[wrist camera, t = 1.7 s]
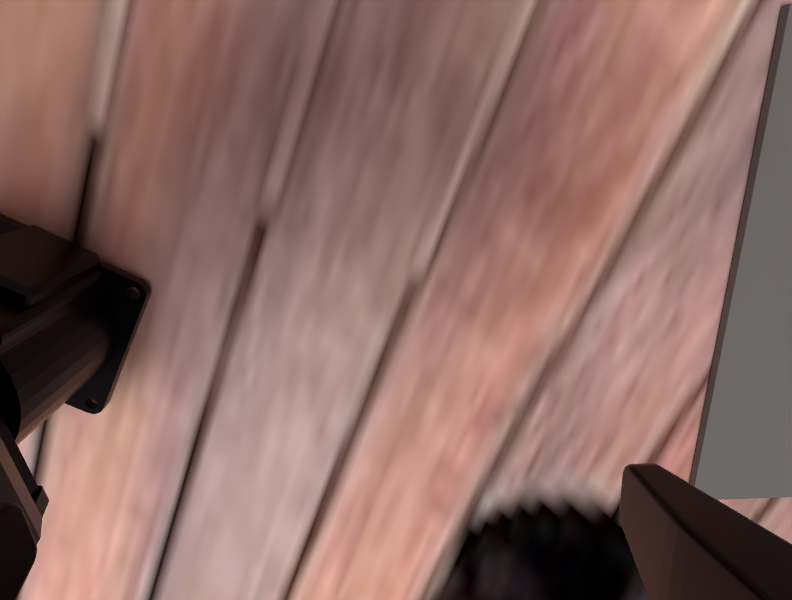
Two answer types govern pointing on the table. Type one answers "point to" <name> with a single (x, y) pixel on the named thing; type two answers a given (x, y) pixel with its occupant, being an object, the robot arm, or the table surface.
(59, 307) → the robot arm
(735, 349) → the mat
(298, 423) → the table surface
